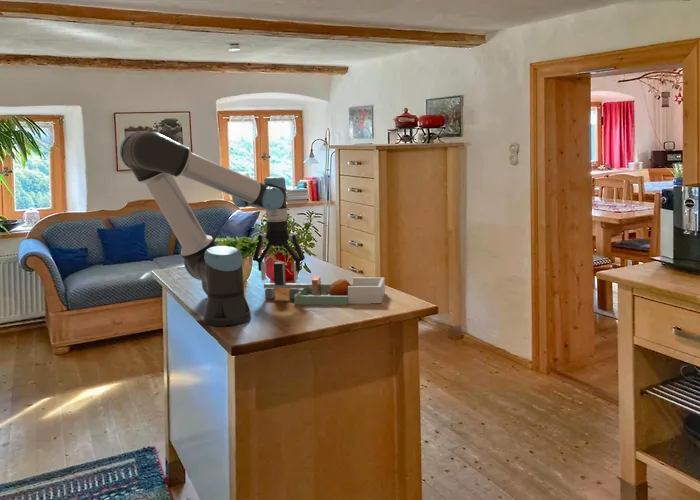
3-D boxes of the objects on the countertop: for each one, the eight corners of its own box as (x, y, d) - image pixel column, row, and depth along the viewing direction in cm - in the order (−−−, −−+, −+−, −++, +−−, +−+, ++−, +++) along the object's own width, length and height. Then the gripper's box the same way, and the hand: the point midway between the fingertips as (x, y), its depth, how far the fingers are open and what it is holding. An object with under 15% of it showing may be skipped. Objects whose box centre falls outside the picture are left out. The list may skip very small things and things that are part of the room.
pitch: (260, 304, 225) (259, 295, 224) (273, 291, 243) (273, 282, 242) (347, 305, 221) (347, 296, 220) (354, 291, 238) (354, 283, 238)
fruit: (354, 297, 225) (342, 278, 224) (335, 308, 227) (323, 289, 226) (358, 291, 233) (346, 273, 232) (340, 302, 235) (328, 283, 234)
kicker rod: (262, 298, 231) (260, 264, 229) (267, 293, 237) (265, 261, 235) (318, 298, 228) (316, 264, 226) (321, 294, 234) (319, 261, 232)
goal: (348, 303, 223) (347, 286, 221) (353, 293, 237) (353, 277, 235) (381, 303, 221) (380, 287, 220) (384, 293, 235) (384, 277, 234)
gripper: (241, 222, 226) (245, 281, 230) (307, 221, 223) (309, 282, 227) (247, 219, 233) (251, 277, 237) (311, 218, 230) (313, 277, 234)
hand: (279, 279), depth 232 cm, fingers open, 11 cm apart
